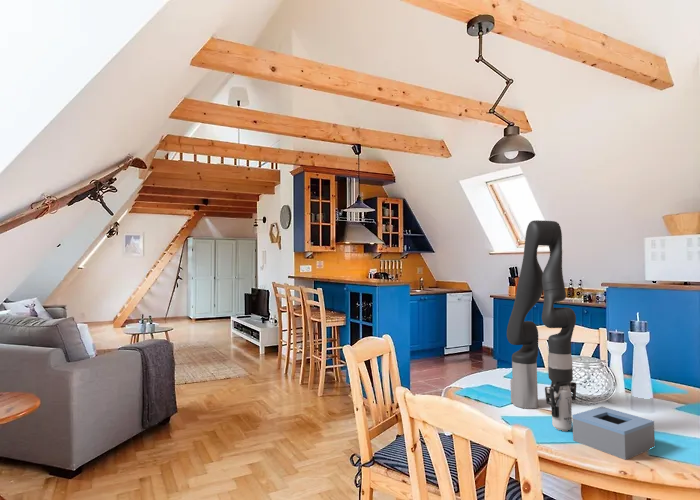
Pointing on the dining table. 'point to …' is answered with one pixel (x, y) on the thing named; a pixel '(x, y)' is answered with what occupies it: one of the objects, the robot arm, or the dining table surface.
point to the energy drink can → (563, 410)
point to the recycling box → (613, 432)
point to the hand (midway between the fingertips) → (561, 415)
